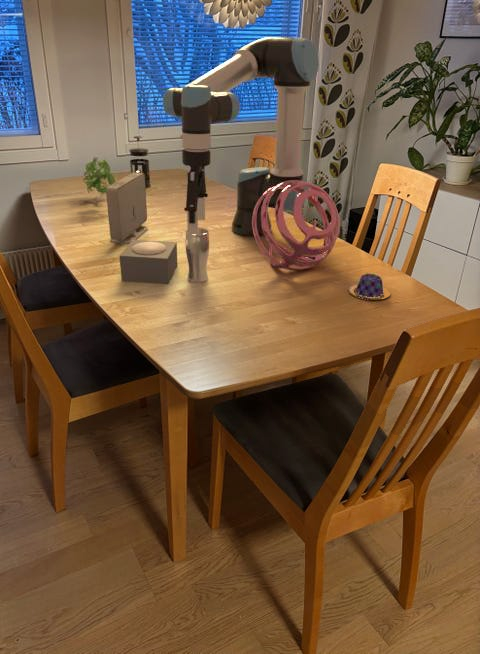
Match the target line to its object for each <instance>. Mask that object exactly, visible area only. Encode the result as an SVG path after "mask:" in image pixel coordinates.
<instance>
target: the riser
mask: <svg viewBox="0 0 480 654" xmlns="http://www.w3.org/2000/svg"><path fill="white" fill-rule="evenodd" d="M131 240H132V239H131ZM131 240H130V241H131ZM177 244H178V243H177V241H166V240H165V241H162V240H145V239H144V240H143V239H142V240H141V239H137V240H132V241H131V242H130V243H129V244H128V245H127V246H126V247H125V248H124V249H123V251H122V252H121V253H120V254H119V265H120V266H119V267H120V276H121V282H131V283H143V284H145V283H147V284H161V285H162V284H163V285H169V283H170V281H171V279H172V278H173V276H174V274H175V271H177V268H178V245H177Z"/></svg>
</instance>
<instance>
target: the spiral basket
mask: <svg viewBox="0 0 480 654" xmlns="http://www.w3.org/2000/svg"><path fill="white" fill-rule="evenodd" d="M290 183H292V184H290ZM300 186H306V187H308V188H309V190H305V189H303V188H301V187H300ZM277 189H283V190H282V192H281V193H280V195H279V197H278V199H277V202H276V206H275V208H274V218H275V223H276V226H277V229H278V231H279V233H280V235H281V237H282V239H283V240H284V241H285V242H286V243H287V245H289V247H291V249H293V250H291V249H289V248H287V247H285V246H284V245H283V244H278V243H277V241H276V240H275V238H274V236H273V234H272V231H271V232H270V229H269V225H268V219H267V210H268V209H269V207H268V204H269V201H270V199H271V197H272V195H273V194H274V192H275V191H276V190H277ZM292 190H293V191H296V192H298V193H300V194H299V195H298V196H297V197H296V199H295V201H294V205H293V212H292V215H293V220H294V221H295V224H296V227H298V229H299V231H300V232H302V233H303V235H304V236H305V237H304V238H303V240H302V241H298V240H297V239H296V238H295V237H294V236H293V234H292V233H291V231H290V230H289V228H288V226H287V223H286V220H285V216H284V211H283V208H284V202H285V199H286V197H287V196H288V194H289V193H290V192H291V191H292ZM265 196H266V197H265ZM264 197H265V199H264V201H263V204H262V208H261V225H262V230H263V233H264V235H263V236H264V238H265V241H266V242H267V243H268V245H269V250H267V249H266V247H265V246H264V243H263V242H262V240H261V238H260V237H261V236H259V234H258V230H257V223H256V217H257V210H258V207H259V204H260V202H261V201H262V199H263V198H264ZM316 197H317V198H320V199H321V200H322V201H323V202H324V203H325V205H326V207H327V209H328V211H329V213H330V216H331V217H330V221H329V219H328V216H327V213H326V211H325V209H324V207H323V206H322V204H321V203H320V201H319V200H318V199H317V198H316ZM305 200H306V201H307V200H308V202H309V201H310V203H312V205H313V206H314V208H315V209H316V211H317V212H318V214H319V217H320V219H321V223H322V227H323V229H322V230H318V229H316V228H317V227H316V226H317V220H315V221H314V222H313V224H312V225H311V226H310V225H308V224H307V222H306V220H305V218H304V216H303V206H304V205H303V202H304V201H305ZM306 201H305V202H306ZM302 205H303V206H302ZM268 211H269V210H268ZM340 225H341V224H340V215H339V212H338V209H337V206H336V203H335V202H334V200H333V198H332V197H331V196H330V195H329V194H328V193H327V191H325V190H324V189H323V188H322V187H320V186H319V185H317V184H315V183H311V182H309V181H308V182H304V181H299V180H289V181H285V182H282V183H279V184H278V185H276V186H274V187H272V188H270V189H268V190H267V191H266V192H265V193H263V195H262V196H261V197H260V198H259V200H258V201H257V203H256V205H255V208H254V211H253V216H252V228H253V233H254V236H253V237H254V240H255V242H256V244H257V247H258V248H259V249H260V251H261V253H262V254H263V255H264V257H266V258H267V259H268V261H269V263H270V264H271V266H272V267H275V268H277V269H283V270H287V271H292V272H293V271H294V272H295V271H296V272H297V271H298V272H300V271H305V270H308V269H311V268H312V267H314V266H316V265H317V264H319V263H320V262H322V261H324V259H326V258H328V256H329V255H330V253H332V251H333V249H334V247H335V244H336V241H337V240H338V236H339V233H340V227H341V226H340ZM311 240H323V244H322V246H320V247H311V246H309V243H310V241H311ZM273 252H274V253H275V254H276V255H277V256H278V257H279V258H280V259H282V261H279V260H277V259H276V258H274V256H273ZM293 266H299V267H293Z"/></svg>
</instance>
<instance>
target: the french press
mask: <svg viewBox="0 0 480 654" xmlns="http://www.w3.org/2000/svg"><path fill="white" fill-rule="evenodd" d="M133 139H136V141H137V147H138V148H131V149H129V150H128V151H129V152H130V156H131V157H138V158H134V159H130V160H129V164H130V174H132V173H133V172H134V173H144V175H145V189H147V188H150V187H151V177H150V160H149V159H147V158H140V157H146V156H148V154H149V149H147V148H140V144H139V141H140V139H143V136H140V135H138V136H133ZM133 166H134V167H133ZM138 166H139V167H138ZM133 168H134V171H133ZM139 168H141V169H139Z"/></svg>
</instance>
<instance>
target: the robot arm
mask: <svg viewBox="0 0 480 654" xmlns="http://www.w3.org/2000/svg"><path fill="white" fill-rule="evenodd" d="M319 58H320V57H319V52H318V49H317V47H316V45H315V43H314V42H313V41H312V40H311V39H309V38H303V37H278V36H277V37H274V36H267V37H263V38H260V39H257V40H255V41H253V42H250V43H248V44H247V45H244V46H242V47H241V48H240V49H238V50H236V52H234V53H233V56H232V58H230V59H228V60H226V61H225V62H223V63H221V64H219V65H218V66H216V67H214V69H211V70H210V71H208V72H207V73H205V74H202V76H199V77H198V78H197V79H194V80H193V81H192V82H190V83H189V84H187V85H184V86H183V87H181V88H180V87H171V88H169V89H166V90H165V92H164V93H163V96H162V106H163V110H164V111H165V113H166V114H167V115H168V116H171V117H176V118H178V119H179V118H181V126H182V127H181V131H182V132H181V135H179V139H180V140H182V141H181V144H182V148H183V150H182V152H181V153H182V155H181V156H182V157H181V158H182V159H181V160H182V162H181V163H182V164H183V165H184V166H186V167H187V166H188V167H190V170H189V171H188V172H187V175H186V176H187V186H186V187H187V189H186V200H185V202H186V204H185V207H184V208H183V210H184V211H185V212H187V213H186V214H187V217H186V219H187V220H186V222H187V230H188V234H195V235H197V234H198V228H199V227H198V226H199V221H205V220H206V198H208V197H209V196H208V194H209V193H207V186H206V174H205V173H206V172H205V167H207V166H210V164H211V151H210V150H209V149H211V147H212V143H211V142H212V139H211V138H212V137H211V136H212V134H211V129H212V128H211V127H212V126H211V125H212V124H217V123H228V122H232V121H234V120H235V119H237V117H238V116H239V114H240V110H241V104H240V103H241V102H240V99H239V98H238V97H237V96H236V94H235V93H233V92H231V90H233V89H235V88H236V87H238V86H240V84H243V83H244V82H252V81H253V80H254V79H259V78H263V79H265V78H268V79H273V87H274V88H275V89H276V91H277V103H276V104H277V106H276V107H277V108H276V126H275V127H276V130H275V149H274V150H275V151H274V152H275V153H274V166H273V168H272V169H270V168H269V167H265V166H264V167H263V166H262V167H261V166H260V167H258V166H256V167H248V168H243V169H241V170H240V171H239V172H238V173H237V182H236V183H237V192H236V194H237V196H236V212H235V215H234V218H233V221H232V224H231V230H232V232H233V233H235V234H237V235H240V236H247V237H254V233H253V228H252V216H253V211H254V208H255V205H256V203H257V201H258V200H259V198H260V197H261V196H262V195H263V193H265V192H266V191H267V190H268V189H270V188H272V187H274V186H276V185H278V184H279V183H282V182H285V181H289V180H299V181H304V182H309V181H308V180H307V179H304V171H303V170H302V169H301V168H300V167H301V165H300V164H301V163H300V162H301V149H302V138H303V137H302V134H303V122H304V121H303V120H304V118H303V117H304V105H305V93H306V91H307V90H308V89H309V88H310V85H311V82H312V81H313V80H315V79H316V77H317V74H318V72H319V65H320V59H319ZM290 184H292V183H290ZM300 187H301V188H303V189H305V190H310V188H308V187H306V186H300ZM282 190H283V189H277V190H276V191H275V192H274V194H273V195H272V197H271V199H270V201H269V204H268V208H271V209H275V206H276V202H277V199H278V197H279V195H280V193H281V192H282ZM299 194H300V193H298V192H296V191H293V190H292V191H291V192H290V193H289V194H288V196H287V197H286V199H285V202H284V208H283V212H288V213H289V212H291V213H293V205H294V201H295V199H296V197H297V196H298V195H299ZM265 197H266V196H265ZM265 197H264V198H263V199H262V201H261V202H260V204H259V207H258V210H257V217H256V223H257V230H258V234H259V237H261V236H264V233H263V230H262V225H261V208H262V204H263V201H264V199H265ZM306 201H307V199H306V200H305V201H304V202H303V205H302V207H303V206H304V204H305V202H306ZM269 214H270V213H269V210H267V219H268V225H269V229H270V232H271V233H272V222H271V218H270V215H269Z"/></svg>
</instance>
